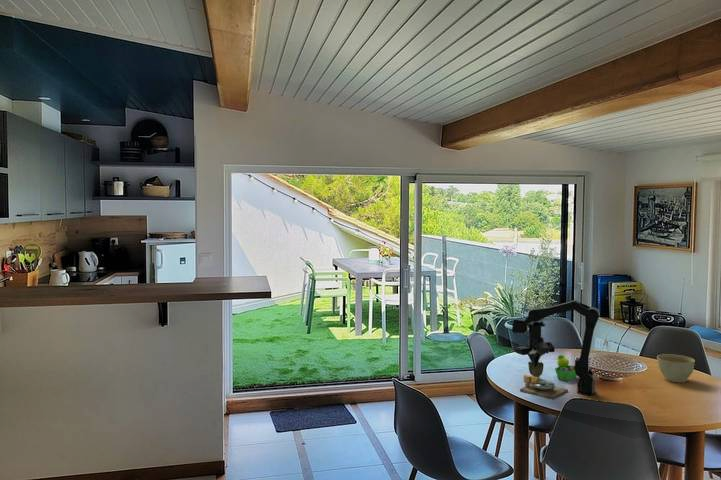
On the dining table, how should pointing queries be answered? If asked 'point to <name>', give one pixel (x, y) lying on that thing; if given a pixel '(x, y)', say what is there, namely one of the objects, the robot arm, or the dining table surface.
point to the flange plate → (539, 383)
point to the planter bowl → (675, 367)
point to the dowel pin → (527, 381)
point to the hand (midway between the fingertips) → (534, 367)
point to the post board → (544, 391)
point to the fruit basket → (565, 369)
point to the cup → (536, 369)
